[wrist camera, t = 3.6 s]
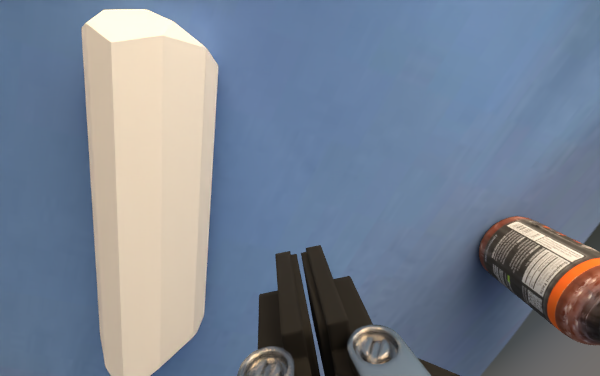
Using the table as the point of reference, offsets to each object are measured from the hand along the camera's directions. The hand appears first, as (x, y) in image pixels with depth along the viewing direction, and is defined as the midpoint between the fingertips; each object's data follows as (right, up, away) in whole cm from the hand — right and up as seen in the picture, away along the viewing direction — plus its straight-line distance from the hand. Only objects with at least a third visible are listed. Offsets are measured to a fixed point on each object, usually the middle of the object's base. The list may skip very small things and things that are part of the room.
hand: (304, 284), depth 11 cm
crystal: (-11, +3, +12) cm, 16 cm away
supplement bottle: (+18, -1, +17) cm, 25 cm away
